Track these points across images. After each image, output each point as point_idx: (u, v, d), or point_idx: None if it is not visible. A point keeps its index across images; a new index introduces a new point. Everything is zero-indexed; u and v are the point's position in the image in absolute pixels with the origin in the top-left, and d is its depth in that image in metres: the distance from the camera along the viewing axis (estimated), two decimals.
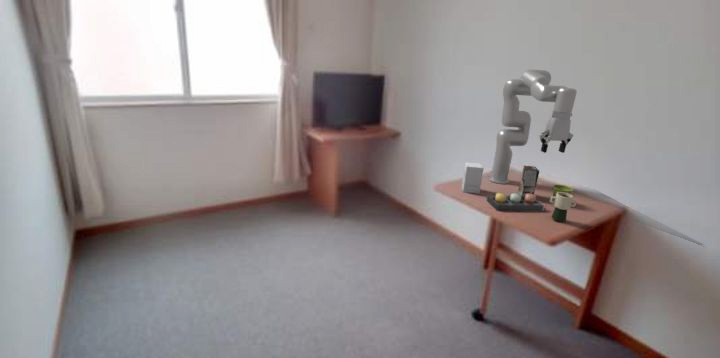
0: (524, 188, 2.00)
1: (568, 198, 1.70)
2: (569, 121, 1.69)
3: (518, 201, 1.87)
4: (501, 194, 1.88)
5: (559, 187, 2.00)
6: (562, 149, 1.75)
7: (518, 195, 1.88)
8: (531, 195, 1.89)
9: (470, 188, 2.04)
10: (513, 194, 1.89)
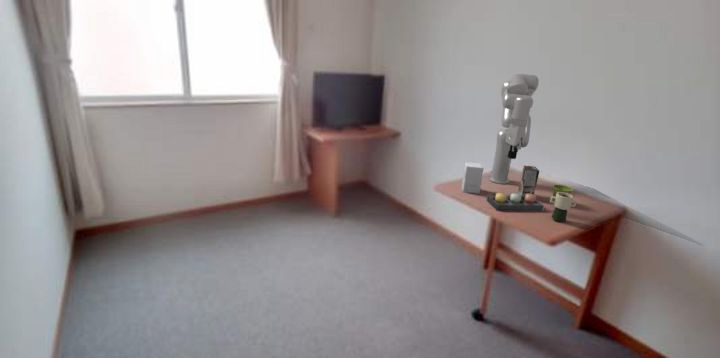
0: (524, 188, 2.00)
1: (568, 198, 1.70)
2: None
3: (518, 201, 1.87)
4: (501, 194, 1.88)
5: (559, 187, 2.00)
6: None
7: (518, 195, 1.88)
8: (531, 195, 1.89)
9: (470, 188, 2.04)
10: (513, 194, 1.89)
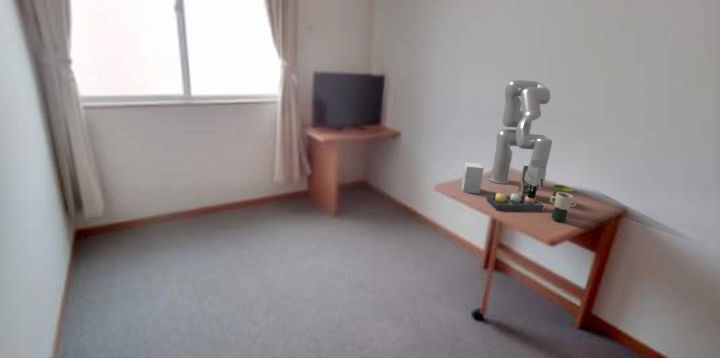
0: (524, 188, 2.00)
1: (568, 198, 1.70)
2: None
3: (518, 201, 1.87)
4: (501, 194, 1.88)
5: (559, 187, 2.00)
6: None
7: (518, 195, 1.88)
8: None
9: (470, 188, 2.04)
10: (513, 194, 1.89)
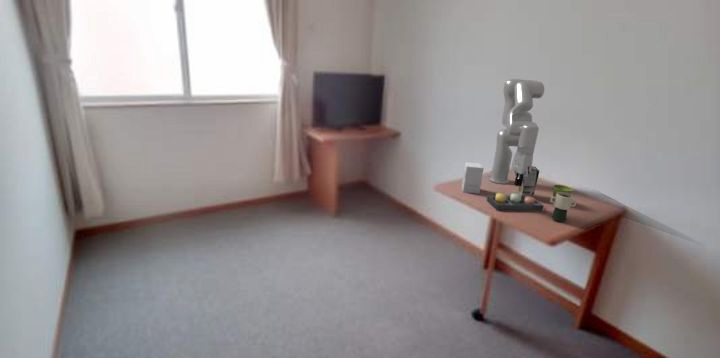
0: (524, 188, 2.00)
1: (568, 198, 1.70)
2: None
3: (518, 201, 1.87)
4: (501, 194, 1.88)
5: (559, 187, 2.00)
6: None
7: (518, 195, 1.88)
8: (530, 198, 1.90)
9: (470, 188, 2.04)
10: (513, 194, 1.89)
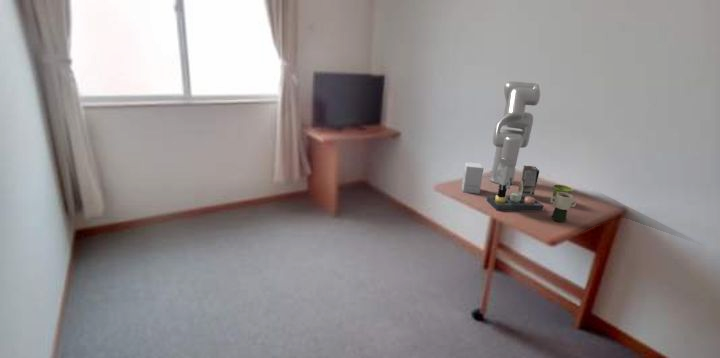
0: (524, 188, 2.00)
1: (568, 198, 1.70)
2: None
3: (518, 201, 1.87)
4: None
5: (559, 187, 2.00)
6: None
7: (518, 195, 1.88)
8: (530, 198, 1.90)
9: (470, 188, 2.04)
10: (513, 194, 1.89)
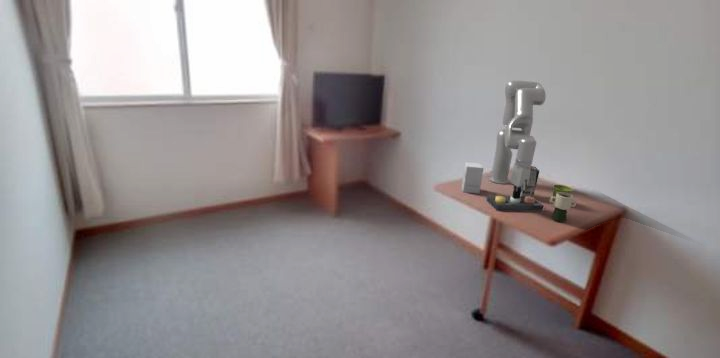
0: None
1: (568, 198, 1.70)
2: None
3: None
4: (500, 197, 1.89)
5: (559, 187, 2.00)
6: None
7: None
8: (530, 198, 1.90)
9: (470, 188, 2.04)
10: (512, 197, 1.90)
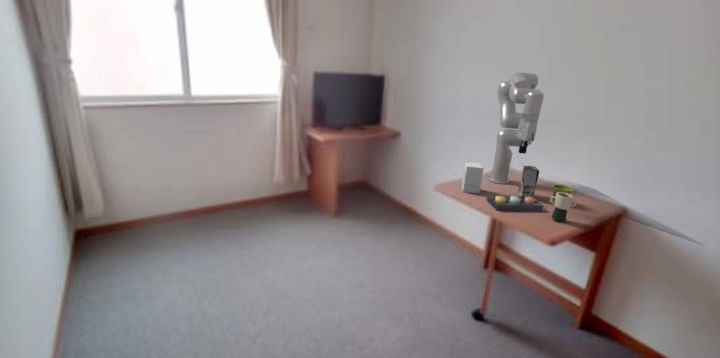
0: (524, 188, 2.00)
1: (568, 198, 1.70)
2: None
3: None
4: (500, 197, 1.89)
5: (559, 187, 2.00)
6: None
7: (517, 198, 1.89)
8: (530, 198, 1.90)
9: (470, 188, 2.04)
10: (512, 197, 1.90)
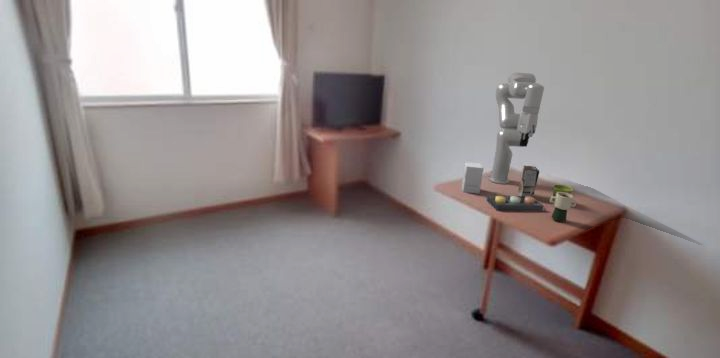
0: (524, 188, 2.00)
1: (568, 198, 1.70)
2: None
3: None
4: (500, 197, 1.89)
5: (559, 187, 2.00)
6: None
7: (517, 198, 1.89)
8: (530, 198, 1.90)
9: (470, 188, 2.04)
10: (512, 197, 1.90)
